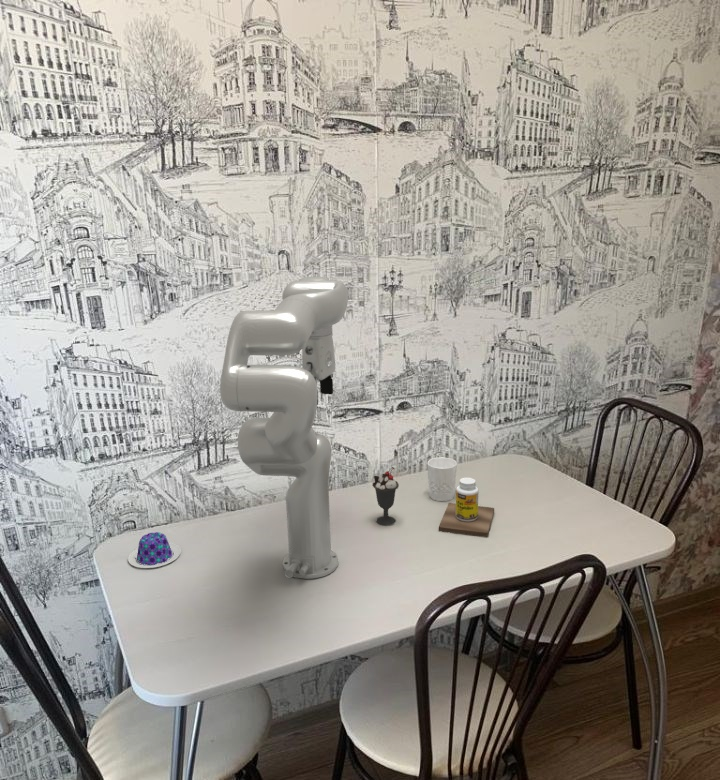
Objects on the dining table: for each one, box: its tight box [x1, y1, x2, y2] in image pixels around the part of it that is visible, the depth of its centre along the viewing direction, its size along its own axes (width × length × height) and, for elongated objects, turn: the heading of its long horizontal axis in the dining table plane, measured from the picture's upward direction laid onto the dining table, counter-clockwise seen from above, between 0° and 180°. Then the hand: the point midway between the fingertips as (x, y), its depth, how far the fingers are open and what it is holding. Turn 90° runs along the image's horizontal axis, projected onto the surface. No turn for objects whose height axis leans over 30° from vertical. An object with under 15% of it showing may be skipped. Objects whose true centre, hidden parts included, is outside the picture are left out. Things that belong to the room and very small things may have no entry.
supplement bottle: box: [455, 477, 480, 522], centre depth 172 cm, size 6×6×10 cm
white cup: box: [427, 456, 458, 502], centre depth 187 cm, size 8×8×10 cm
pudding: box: [127, 531, 182, 569], centre depth 160 cm, size 12×12×5 cm
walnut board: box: [438, 502, 495, 538], centre depth 173 cm, size 14×12×1 cm
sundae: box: [372, 466, 399, 526], centre depth 173 cm, size 7×7×15 cm
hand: (319, 399), depth 165 cm, fingers open, 9 cm apart
